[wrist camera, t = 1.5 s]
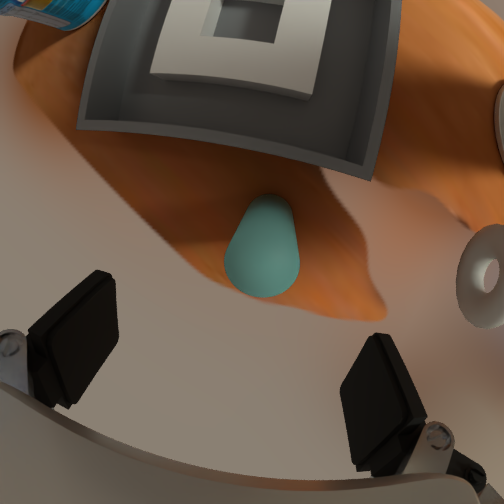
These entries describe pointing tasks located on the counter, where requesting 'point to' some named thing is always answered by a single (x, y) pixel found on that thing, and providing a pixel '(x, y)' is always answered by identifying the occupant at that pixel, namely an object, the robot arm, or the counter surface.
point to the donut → (482, 278)
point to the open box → (249, 75)
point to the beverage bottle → (53, 11)
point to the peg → (264, 249)
